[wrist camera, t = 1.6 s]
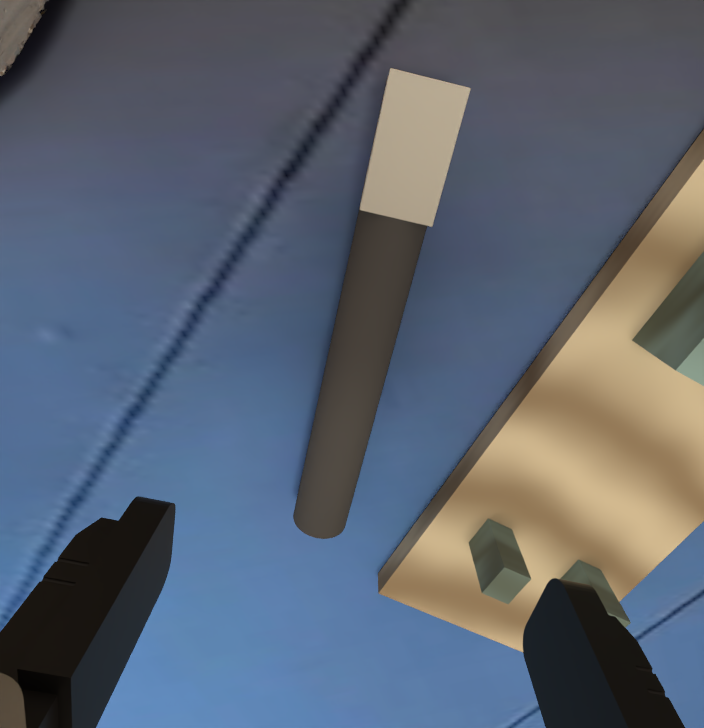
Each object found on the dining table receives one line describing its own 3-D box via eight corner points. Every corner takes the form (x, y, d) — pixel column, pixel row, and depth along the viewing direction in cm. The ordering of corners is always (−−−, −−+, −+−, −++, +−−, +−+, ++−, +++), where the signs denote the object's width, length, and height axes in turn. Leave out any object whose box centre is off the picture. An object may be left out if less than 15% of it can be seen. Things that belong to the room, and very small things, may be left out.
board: (545, 643, 33) (574, 722, 28) (377, 573, 31) (379, 646, 26) (943, 247, 22) (1095, 271, 17) (725, 99, 20) (831, 82, 15)
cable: (346, 506, 29) (344, 542, 26) (296, 496, 29) (289, 532, 26) (456, 97, 20) (470, 88, 18) (386, 80, 20) (390, 68, 17)
